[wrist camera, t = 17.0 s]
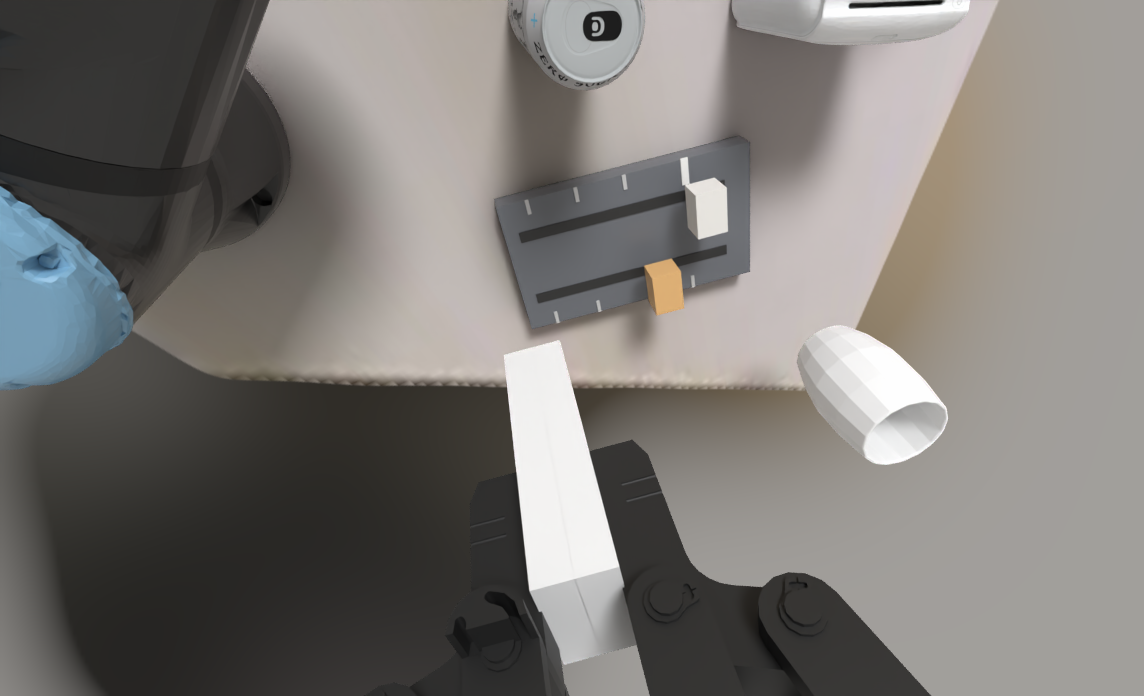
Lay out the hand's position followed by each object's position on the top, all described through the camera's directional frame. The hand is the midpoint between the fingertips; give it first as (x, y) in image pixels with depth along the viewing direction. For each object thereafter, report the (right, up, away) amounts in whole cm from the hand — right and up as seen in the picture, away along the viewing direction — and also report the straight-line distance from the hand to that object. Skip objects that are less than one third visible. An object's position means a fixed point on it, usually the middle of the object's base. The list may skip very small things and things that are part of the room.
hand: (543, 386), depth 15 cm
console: (+6, +11, +33) cm, 36 cm away
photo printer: (+17, +27, +25) cm, 41 cm away
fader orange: (+8, +8, +33) cm, 35 cm away
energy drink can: (-1, +25, +23) cm, 34 cm away
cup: (+21, +7, +40) cm, 45 cm away
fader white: (+11, +14, +30) cm, 34 cm away
